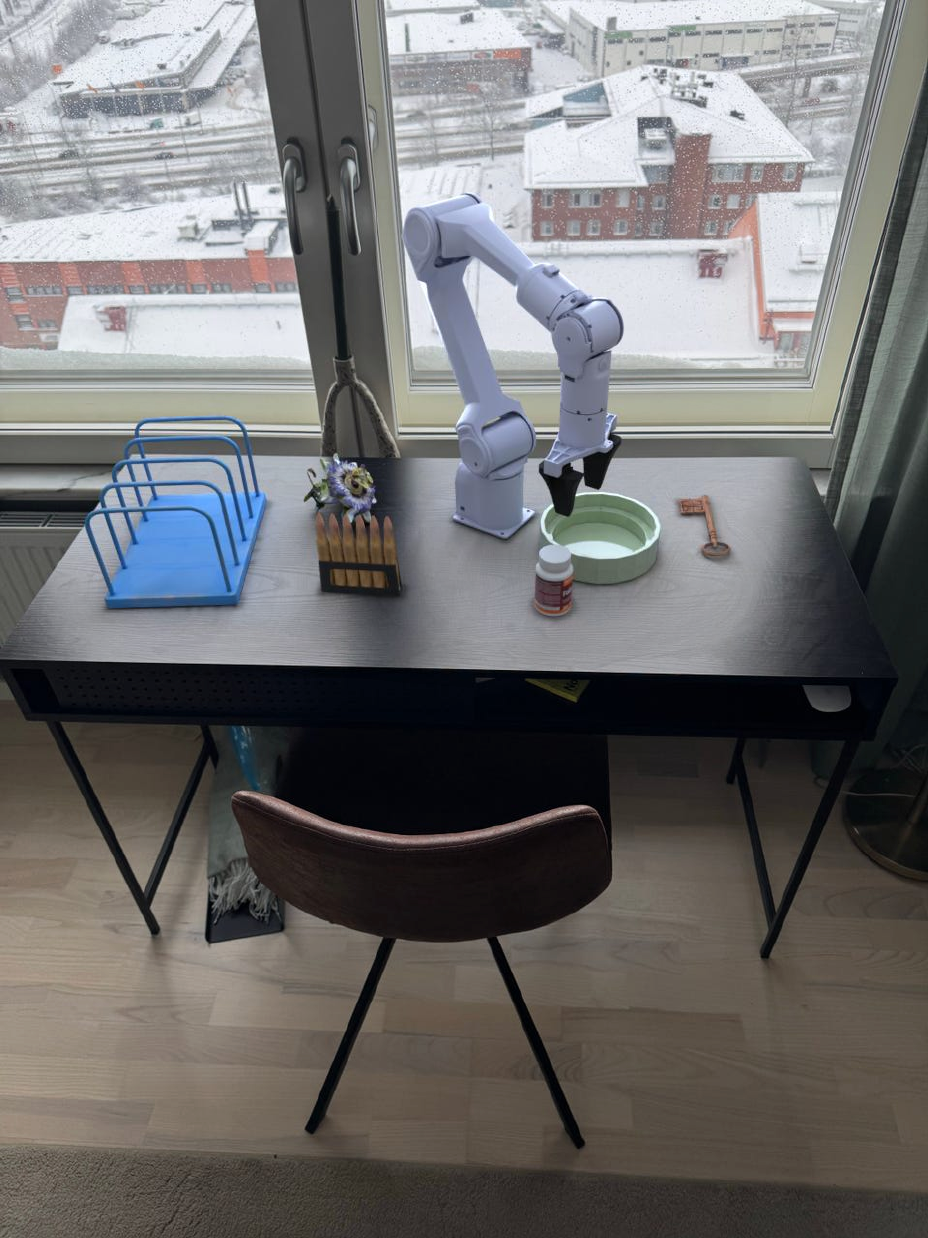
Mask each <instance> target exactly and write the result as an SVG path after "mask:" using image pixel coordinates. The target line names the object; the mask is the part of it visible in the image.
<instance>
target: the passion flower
mask: <svg viewBox="0 0 928 1238" xmlns="http://www.w3.org/2000/svg"><path fill="white" fill-rule="evenodd" d="M331 461H332V463H331V462H330V461H329V462H328V461H327V460H326V458H320V459H319V462H320V465H321V467H322V470H323V471H324V474H325V476H326V478H321V481H317V482H314V481H313V479H312V478H311V475H310V473H311V474H312V477H313V478H314V479H317V473H316V472H315V470H314V468H312V467H310V468H309V467H308V469H307V471H306V475H307V477H308V479H309V482H310V484H311V486H312V488H311V489H310V490H309V492H308V493H306V495H305V496H304V498H303V502H304V503H306V502H307V501H308V500H310V499H311V498H313V500H314V502H315V509H314V510H315V516H317V514H318V513H319V511H320V510H321V509H323V508H324V507H325V505H334V504H337V503H339V504H341V505H342V507H343V509H342V512H341V515H340V516H341V517H340V520H341V522H343V517H344V515H345V514H346V515H347V516H348V518H349V520H350V522H351V524H353V525H355V526H356V521H357V517H358V515H360V516H361V517H362V519H363V522H364V523H367V524H370V521H371V517H372V515H371V512H370V510H371V508H372V505H376V504H377V499H376V497H375V492H376V489H375V488H376V487H377V485H374V484H373V483H374V480H373V478H372V476H371V474H370V472H369V471H367V469H366V466H365V464H363V463H362V464H361V465H360V466H359V467H358V463H357V462H352V461H351V462H349V459H348V460H345V461H344V460H342V461H341V460H340V457H339V454H338V453H334V454H333V457H332V460H331Z"/></svg>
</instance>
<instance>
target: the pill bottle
mask: <svg viewBox="0 0 928 1238" xmlns="http://www.w3.org/2000/svg"><path fill="white" fill-rule="evenodd" d="M573 572H574V571H573V566H572V564H571V552H570V550H569V549H568V548H566V547H564V546H561V545H548V546H545V547H543V548H542V549H541V550H540V549H539V552H538V562H537V563H536V565H535V572H534V573H535V574H534V575H535V576H534V607H535V609H536V611H538V612H539V613H540V614H542V615H544V616H547V617H560V616H564V615H565V614H567V613H568V612H569V611H570V609H571V608H572V599H573V581H574V579H573Z"/></svg>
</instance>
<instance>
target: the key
mask: <svg viewBox="0 0 928 1238" xmlns="http://www.w3.org/2000/svg"><path fill="white" fill-rule="evenodd" d="M678 502H679V509H680V515H684V514H685V515H686V514H705V518H706V523H707V528H708V534H709V539H710V542H707V543H705V544H704V545H702V546H701V552H702V553H703V554H704V555H705V556H708V557H714V558H715V557H724V556H726V555H728V554H730V552H731V546H730V545H729V544H727V543H725V542H722V541H718V538H717V531H716V528H715V524H714V523H715V522H714V520H713V514H712V510H711V506H710V501H709V497H708V495H707V494H703V495H702V496H701V498H683V499H681V498H680V499H678ZM710 547H714V549H716V548H717V547H722V548H725V549H726V550H724V551H721V552H712V551H708V550H707V548H710Z"/></svg>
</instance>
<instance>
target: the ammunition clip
mask: <svg viewBox="0 0 928 1238" xmlns="http://www.w3.org/2000/svg"><path fill="white" fill-rule="evenodd" d="M315 516H316V515H315ZM328 522H329V523H328V529H329V536H328V533H327V529H326V524H325V520H324V518H323V517H322V514H321V513H320V512H318V514H317V516H316V517H315V531H316V532H315V533H316V548H317V550H316V551H317V556H318V561H317V562H318V570H319V571H318V572H319V573H318V574H319V581H320V592H322V593H329V594H331V593H333V594H347V595H348V594H349V595H350V594H351V595H365V596H385V597H400V596H401V593H402V591H403V583H402V578H401V577H402V575H401V571H400V570H401V569H400V564H399V563H400V562H399V557H398V551H397V543H396V540H395V534H394V528H393V524H392V521H391V518H390V516H388V515H387V516H385V517H384V522H383V541H382V538H381V533H380V527H379V523H378V519H377V518H376V517H375V515H371V521H370V523H369V538H370V539H368V536H367V535H368V534H367V531H366V527H365V522H363V519H362V517H361V516H360V515H358V517H357V521H356V525H355V533H356V535H355V536H356V540H355V536H354V532H353V527H352V523H351V522H350V520H349V518H348V516H347V515H346V514H345V515H344V517H343V521H342V538H341V533H340V527H339V524H338V523H339V522H338V521H337V518H336V516H335V514H334V513H331V514H330V515H329V519H328Z"/></svg>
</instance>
